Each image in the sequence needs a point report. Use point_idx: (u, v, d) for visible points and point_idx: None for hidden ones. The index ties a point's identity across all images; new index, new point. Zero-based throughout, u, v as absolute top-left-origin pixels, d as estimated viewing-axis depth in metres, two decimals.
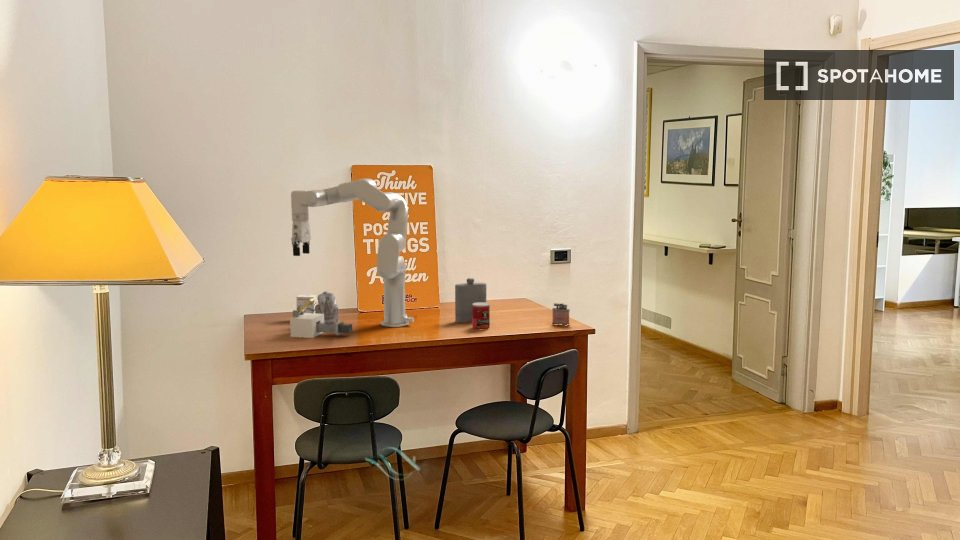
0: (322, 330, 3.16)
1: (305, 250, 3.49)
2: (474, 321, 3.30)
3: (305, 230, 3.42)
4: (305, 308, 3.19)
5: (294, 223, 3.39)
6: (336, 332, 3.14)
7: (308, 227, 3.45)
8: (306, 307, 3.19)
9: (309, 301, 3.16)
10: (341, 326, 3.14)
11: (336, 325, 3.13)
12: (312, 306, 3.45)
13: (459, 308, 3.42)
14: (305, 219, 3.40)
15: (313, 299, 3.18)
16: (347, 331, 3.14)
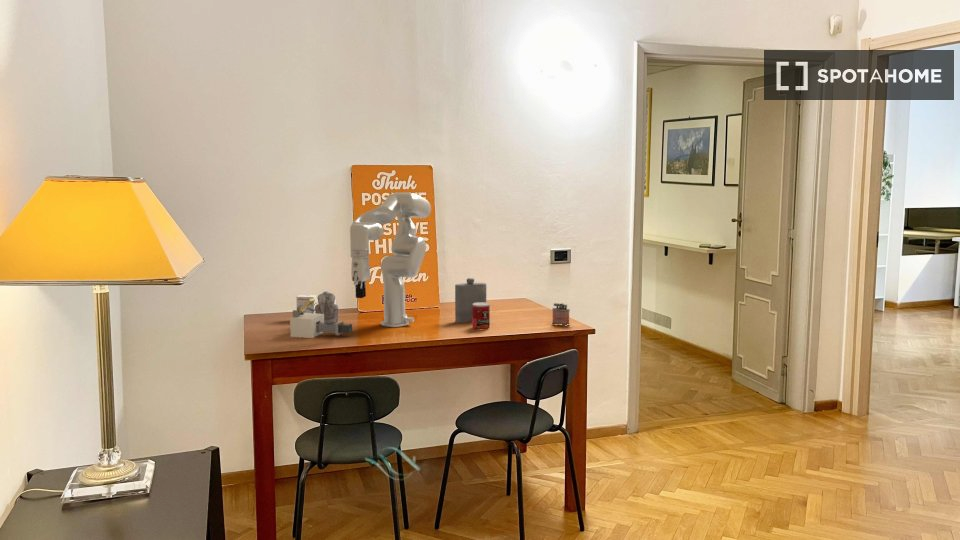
0: (322, 330, 3.16)
1: None
2: (474, 321, 3.30)
3: (365, 268, 3.09)
4: (305, 308, 3.19)
5: (354, 260, 3.06)
6: (336, 332, 3.14)
7: (368, 264, 3.13)
8: (306, 307, 3.19)
9: (309, 301, 3.16)
10: (341, 326, 3.14)
11: (336, 325, 3.13)
12: (312, 306, 3.45)
13: (459, 308, 3.42)
14: (366, 256, 3.08)
15: (313, 299, 3.18)
16: (347, 331, 3.14)
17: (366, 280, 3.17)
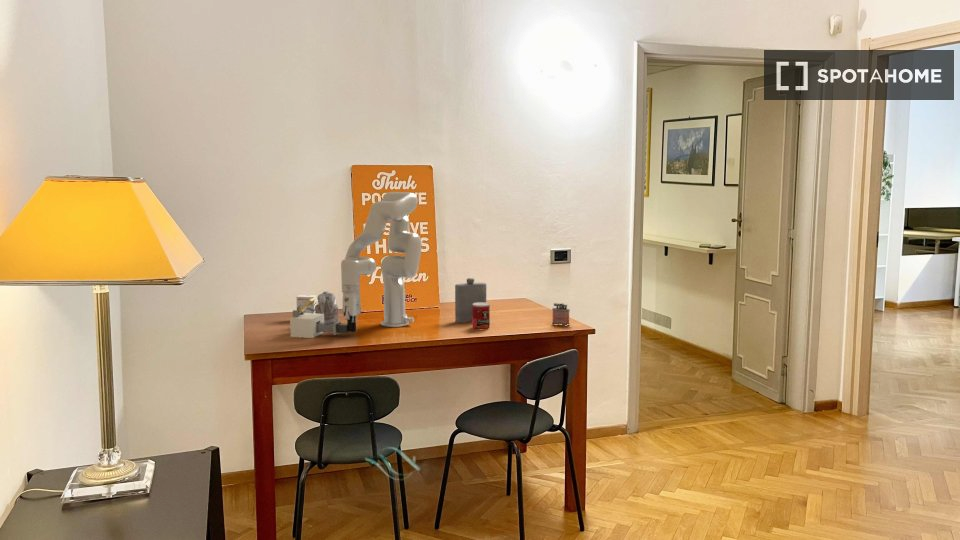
0: (320, 330, 3.17)
1: None
2: (474, 321, 3.30)
3: (356, 302, 3.12)
4: (305, 308, 3.19)
5: (345, 295, 3.09)
6: (334, 332, 3.14)
7: (359, 298, 3.16)
8: (306, 307, 3.19)
9: (309, 301, 3.16)
10: (339, 326, 3.15)
11: (334, 325, 3.14)
12: (312, 306, 3.45)
13: (459, 308, 3.42)
14: (357, 290, 3.11)
15: (313, 299, 3.18)
16: (345, 331, 3.14)
17: (356, 315, 3.19)
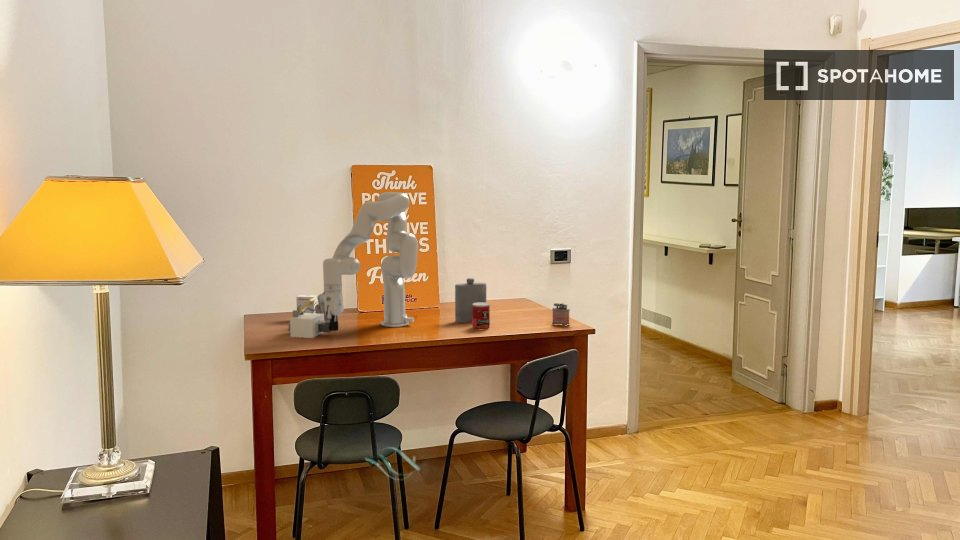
0: None
1: None
2: (474, 321, 3.30)
3: (338, 301, 3.14)
4: (305, 308, 3.19)
5: (327, 295, 3.11)
6: (316, 331, 3.16)
7: (341, 297, 3.17)
8: (306, 307, 3.19)
9: (309, 301, 3.16)
10: (321, 325, 3.16)
11: (316, 324, 3.15)
12: (312, 306, 3.45)
13: (459, 308, 3.42)
14: (338, 290, 3.12)
15: (313, 299, 3.18)
16: (327, 330, 3.16)
17: None
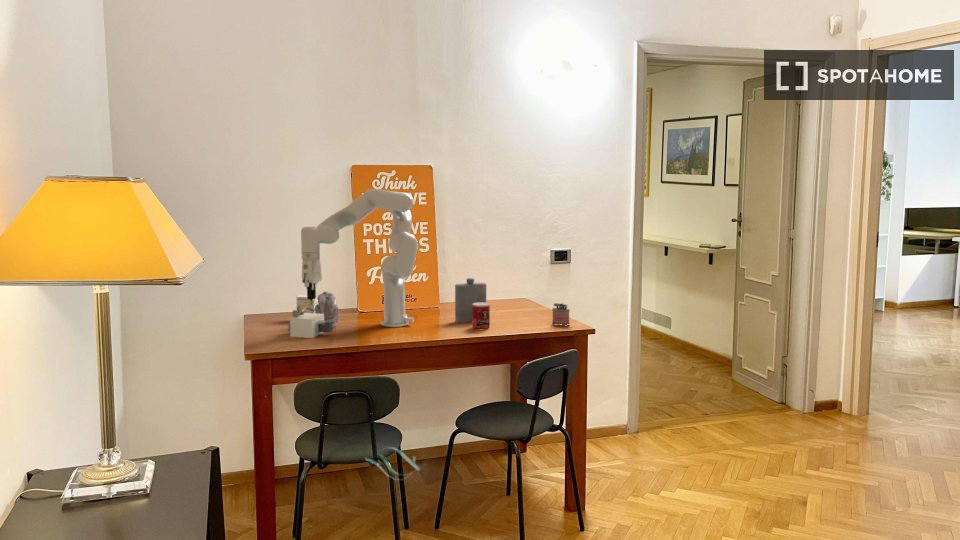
0: None
1: None
2: (474, 321, 3.30)
3: (316, 270, 3.14)
4: (305, 308, 3.19)
5: (304, 262, 3.11)
6: (316, 331, 3.16)
7: (319, 266, 3.17)
8: (306, 307, 3.19)
9: (309, 301, 3.16)
10: (321, 325, 3.16)
11: (316, 324, 3.15)
12: (312, 306, 3.45)
13: (459, 308, 3.42)
14: (316, 258, 3.13)
15: (313, 299, 3.18)
16: (327, 330, 3.16)
17: None
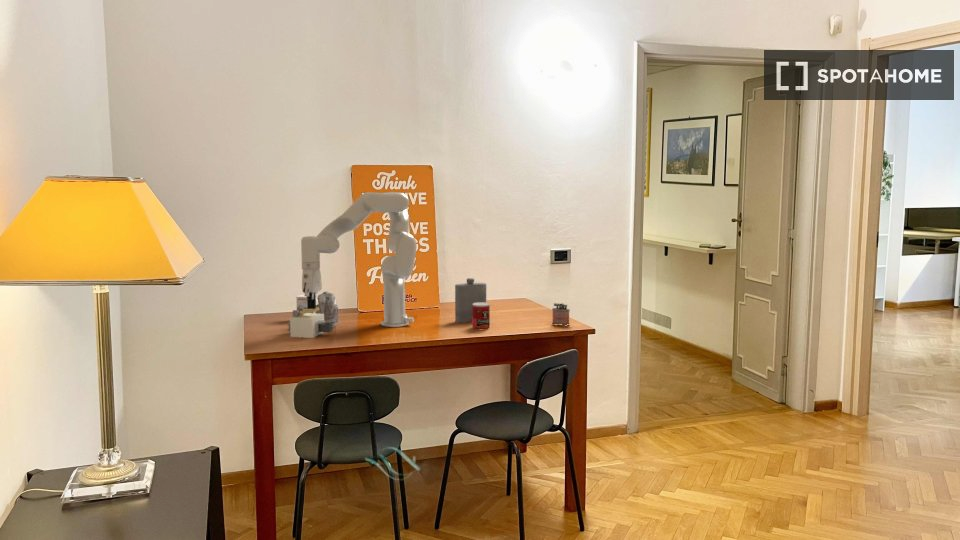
0: None
1: None
2: (474, 321, 3.30)
3: (316, 279, 3.15)
4: None
5: (304, 272, 3.11)
6: (316, 331, 3.16)
7: (319, 276, 3.18)
8: None
9: (314, 310, 3.16)
10: (321, 325, 3.16)
11: (316, 324, 3.15)
12: None
13: (459, 308, 3.42)
14: (316, 268, 3.13)
15: (318, 309, 3.18)
16: (327, 330, 3.16)
17: (317, 292, 3.21)
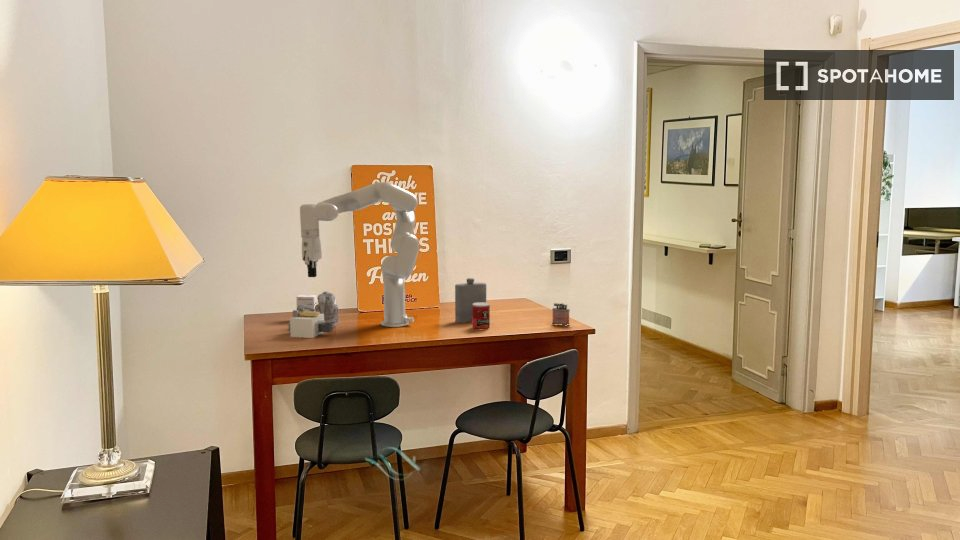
0: None
1: None
2: (474, 321, 3.30)
3: (316, 247, 3.13)
4: None
5: (304, 240, 3.10)
6: (316, 331, 3.16)
7: (319, 244, 3.16)
8: None
9: (314, 314, 3.16)
10: (321, 325, 3.16)
11: (316, 324, 3.15)
12: (312, 306, 3.45)
13: (459, 308, 3.42)
14: (316, 235, 3.11)
15: (318, 313, 3.18)
16: (327, 330, 3.16)
17: (317, 261, 3.20)
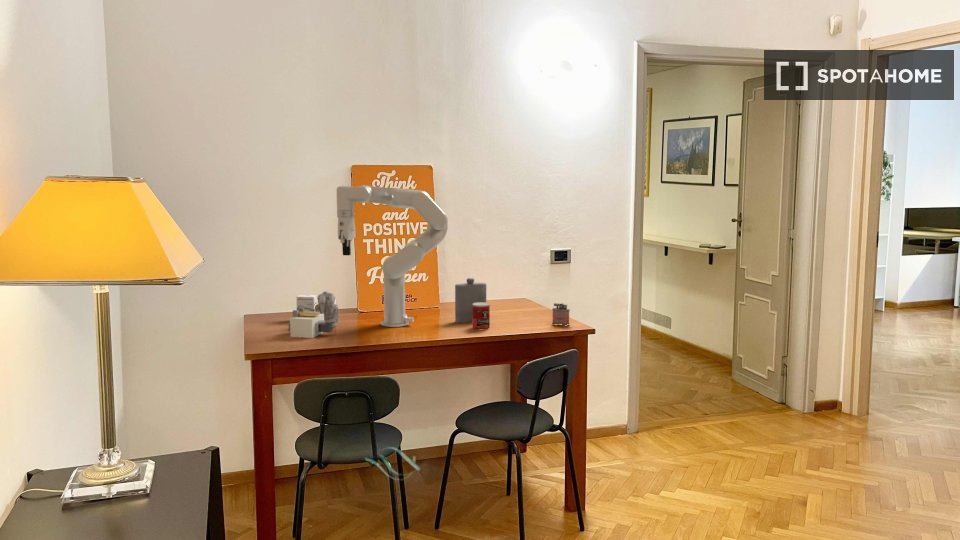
0: None
1: None
2: (474, 321, 3.30)
3: (351, 227, 3.31)
4: None
5: (340, 220, 3.27)
6: (316, 331, 3.16)
7: (353, 224, 3.34)
8: None
9: (314, 314, 3.16)
10: (321, 325, 3.16)
11: (316, 324, 3.15)
12: (312, 306, 3.45)
13: (459, 308, 3.42)
14: (351, 216, 3.29)
15: (318, 313, 3.18)
16: (327, 330, 3.16)
17: (351, 240, 3.37)
